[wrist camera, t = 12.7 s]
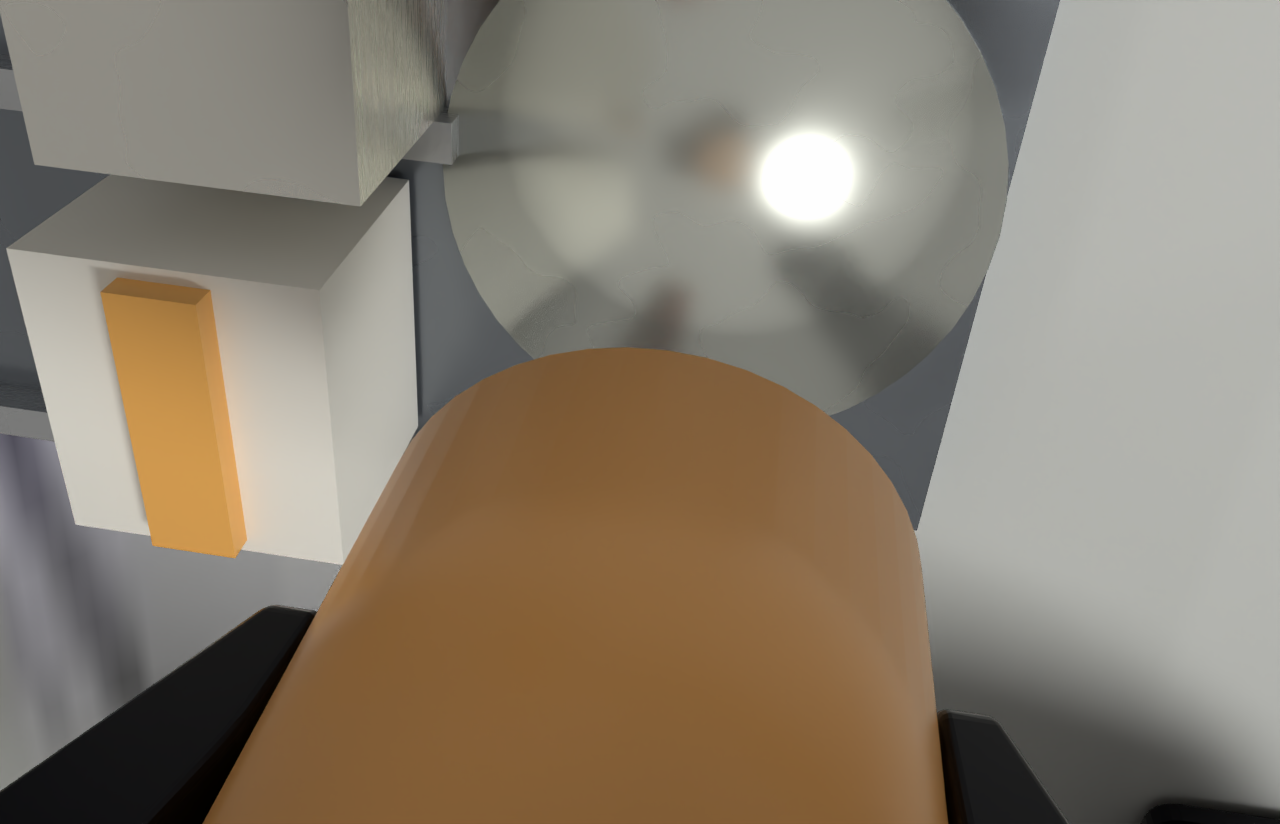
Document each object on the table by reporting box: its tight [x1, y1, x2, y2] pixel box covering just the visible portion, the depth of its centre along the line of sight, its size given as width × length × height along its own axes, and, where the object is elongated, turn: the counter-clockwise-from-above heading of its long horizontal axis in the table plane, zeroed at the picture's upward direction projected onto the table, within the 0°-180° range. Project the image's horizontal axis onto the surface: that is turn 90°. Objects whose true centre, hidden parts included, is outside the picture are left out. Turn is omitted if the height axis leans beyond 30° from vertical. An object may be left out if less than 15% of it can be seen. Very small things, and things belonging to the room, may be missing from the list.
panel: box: [0, 0, 1060, 530], centre depth 16 cm, size 22×11×5 cm, turn 86°
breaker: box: [6, 174, 418, 565], centre depth 17 cm, size 4×4×4 cm
